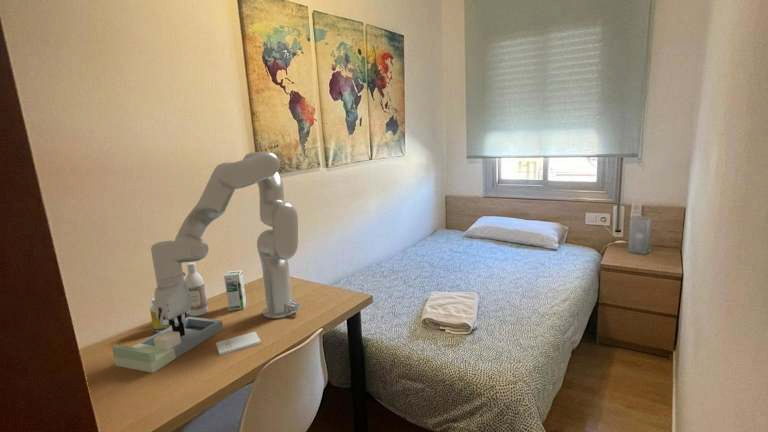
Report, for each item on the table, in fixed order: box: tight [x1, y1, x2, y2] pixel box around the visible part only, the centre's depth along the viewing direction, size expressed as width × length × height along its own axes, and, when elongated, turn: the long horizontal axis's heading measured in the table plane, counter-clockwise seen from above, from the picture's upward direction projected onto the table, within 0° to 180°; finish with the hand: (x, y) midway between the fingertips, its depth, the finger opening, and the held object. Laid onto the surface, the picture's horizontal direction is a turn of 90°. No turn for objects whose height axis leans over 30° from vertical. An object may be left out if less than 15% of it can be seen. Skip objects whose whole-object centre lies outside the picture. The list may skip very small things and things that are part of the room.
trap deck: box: [111, 316, 224, 374], centre depth 128 cm, size 15×28×6 cm, turn 160°
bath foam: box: [184, 261, 209, 317], centre depth 152 cm, size 7×7×20 cm
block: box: [154, 331, 181, 351], centre depth 122 cm, size 5×5×4 cm
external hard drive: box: [215, 331, 262, 356], centre depth 127 cm, size 2×8×12 cm
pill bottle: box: [149, 297, 171, 333], centre depth 141 cm, size 6×6×12 cm
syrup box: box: [223, 269, 247, 312], centre depth 156 cm, size 6×6×14 cm
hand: (179, 335), depth 127 cm, fingers closed
